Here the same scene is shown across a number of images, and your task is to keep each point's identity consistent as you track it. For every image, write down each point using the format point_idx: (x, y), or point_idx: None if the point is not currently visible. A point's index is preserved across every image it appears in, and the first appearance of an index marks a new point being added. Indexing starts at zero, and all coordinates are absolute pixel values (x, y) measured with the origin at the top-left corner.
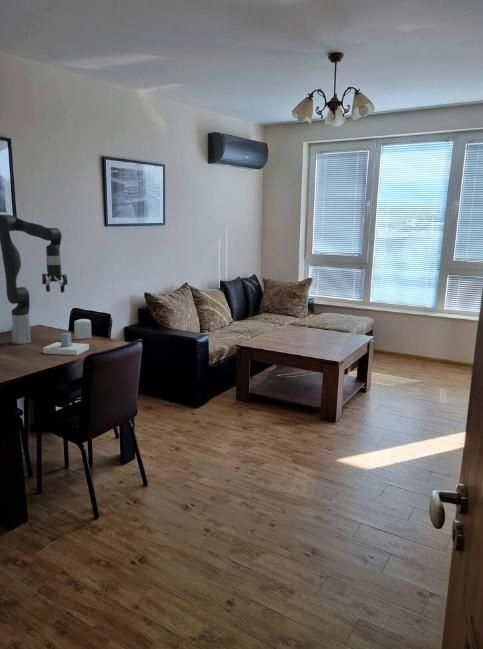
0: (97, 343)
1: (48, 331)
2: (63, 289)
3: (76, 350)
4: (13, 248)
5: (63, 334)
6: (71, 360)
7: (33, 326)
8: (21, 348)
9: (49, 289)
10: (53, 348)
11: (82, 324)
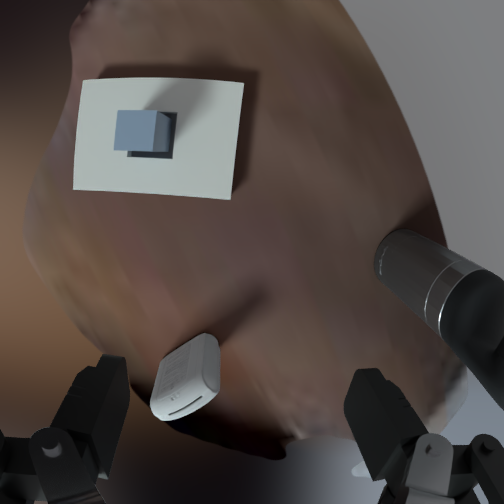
0: (94, 283)
1: None
2: (72, 394)
3: (85, 80)
4: None
5: (139, 110)
6: (91, 20)
7: None
8: (368, 159)
9: (356, 419)
10: (190, 79)
11: (176, 382)
